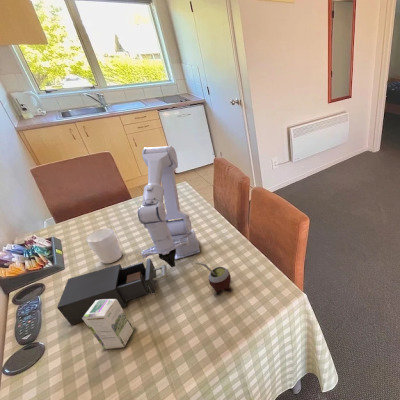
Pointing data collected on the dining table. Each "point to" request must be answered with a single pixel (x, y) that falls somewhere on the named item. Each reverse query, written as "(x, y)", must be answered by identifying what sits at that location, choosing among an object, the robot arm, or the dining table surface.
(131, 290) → the dark grey drawer
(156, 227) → the robot arm
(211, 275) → the mate gourd
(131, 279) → the block
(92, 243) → the cup
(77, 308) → the black drawer box
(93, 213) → the dining table surface
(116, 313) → the syrup box
